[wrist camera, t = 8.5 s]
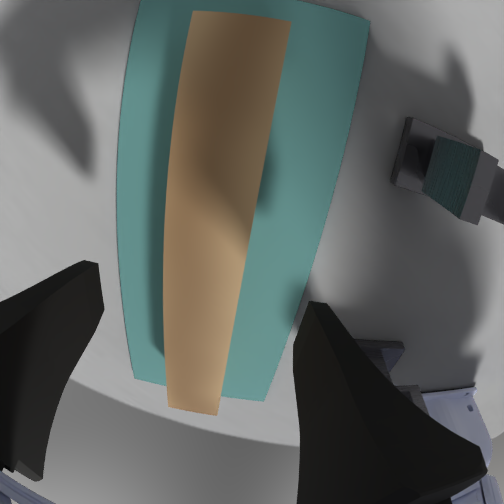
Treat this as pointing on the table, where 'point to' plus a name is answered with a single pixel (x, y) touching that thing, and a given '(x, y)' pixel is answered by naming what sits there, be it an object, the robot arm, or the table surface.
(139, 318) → the teal mat
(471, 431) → the robot arm
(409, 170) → the hook standards
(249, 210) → the oak bar
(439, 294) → the table surface
